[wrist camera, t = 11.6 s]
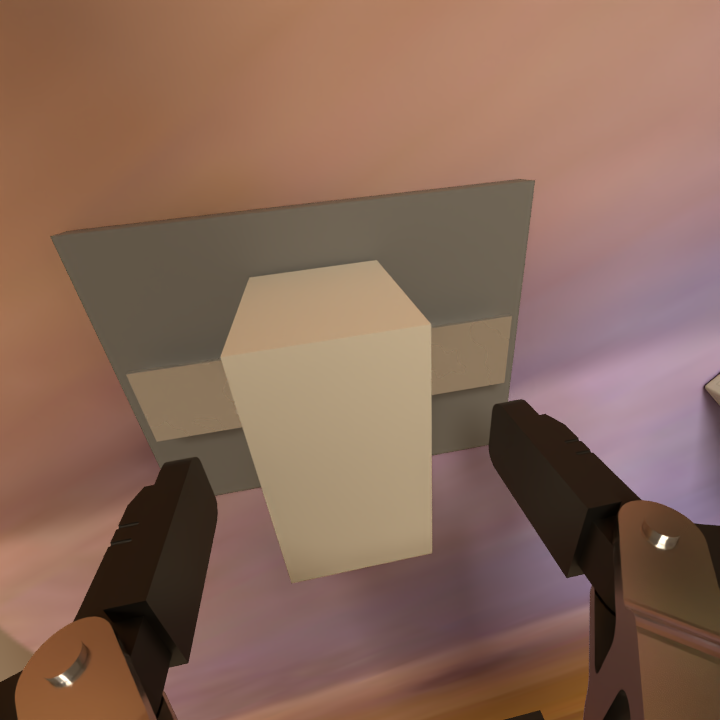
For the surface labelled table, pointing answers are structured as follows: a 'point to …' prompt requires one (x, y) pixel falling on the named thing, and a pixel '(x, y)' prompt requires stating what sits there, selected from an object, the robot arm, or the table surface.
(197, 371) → the metal rail
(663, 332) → the table surface
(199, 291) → the mounting board
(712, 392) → the light bulb box
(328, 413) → the block
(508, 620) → the table surface
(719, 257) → the table surface
